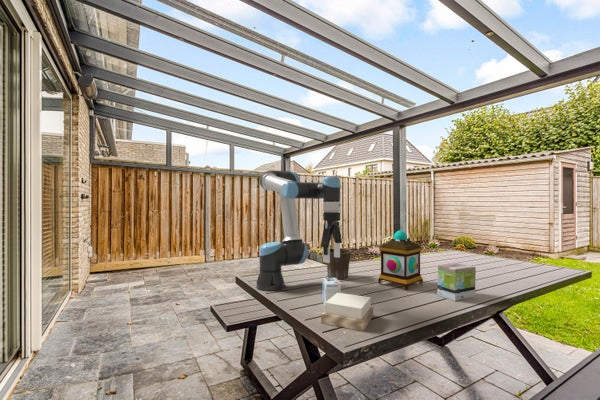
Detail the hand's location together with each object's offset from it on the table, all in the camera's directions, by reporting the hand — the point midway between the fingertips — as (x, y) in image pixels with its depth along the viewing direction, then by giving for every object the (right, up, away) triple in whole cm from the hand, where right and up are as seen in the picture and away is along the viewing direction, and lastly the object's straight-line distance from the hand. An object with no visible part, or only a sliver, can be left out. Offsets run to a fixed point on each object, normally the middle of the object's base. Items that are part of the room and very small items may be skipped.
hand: (331, 259), depth 133 cm
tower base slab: (+5, -21, -16) cm, 26 cm away
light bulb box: (0, -20, +1) cm, 20 cm away
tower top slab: (+5, -17, -16) cm, 23 cm away
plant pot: (+9, -20, +48) cm, 53 cm away
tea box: (+61, -20, +12) cm, 66 cm away
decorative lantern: (+41, -20, +32) cm, 56 cm away
